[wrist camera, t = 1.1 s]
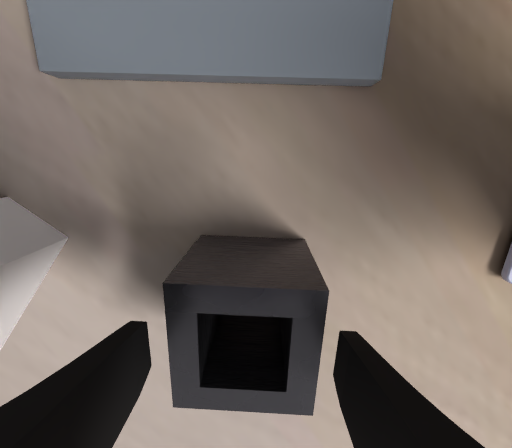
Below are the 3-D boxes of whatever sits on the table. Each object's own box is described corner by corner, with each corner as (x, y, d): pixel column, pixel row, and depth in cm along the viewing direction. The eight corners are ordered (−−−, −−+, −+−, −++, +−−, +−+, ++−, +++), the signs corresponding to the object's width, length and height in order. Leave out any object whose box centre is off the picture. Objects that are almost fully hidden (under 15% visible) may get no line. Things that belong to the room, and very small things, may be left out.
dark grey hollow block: (304, 239, 13) (328, 290, 8) (296, 327, 14) (312, 415, 9) (200, 235, 13) (162, 283, 8) (203, 322, 14) (173, 407, 10)
